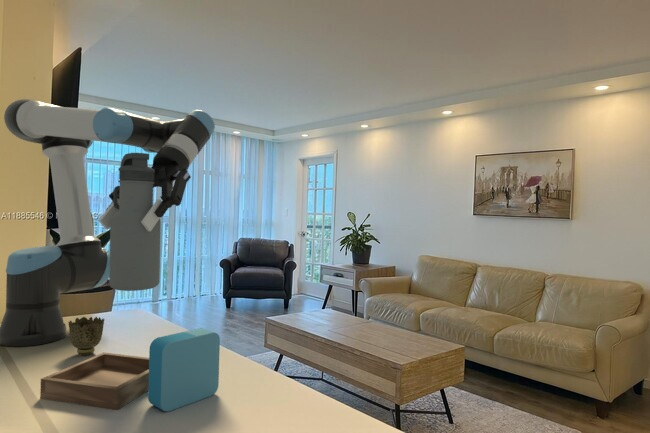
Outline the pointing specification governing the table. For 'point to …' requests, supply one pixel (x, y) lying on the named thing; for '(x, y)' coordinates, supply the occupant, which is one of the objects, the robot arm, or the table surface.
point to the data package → (183, 368)
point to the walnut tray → (99, 381)
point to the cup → (86, 334)
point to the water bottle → (134, 228)
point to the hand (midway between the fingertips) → (124, 225)
